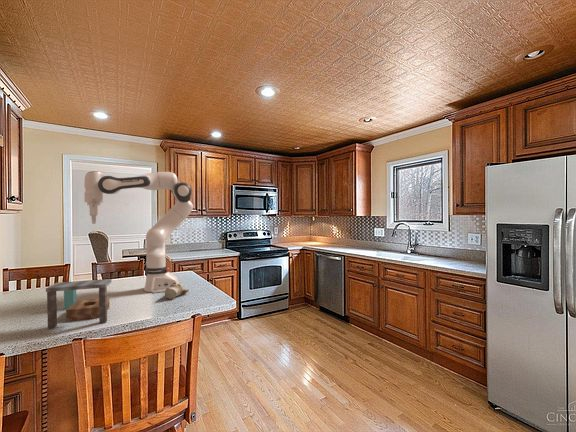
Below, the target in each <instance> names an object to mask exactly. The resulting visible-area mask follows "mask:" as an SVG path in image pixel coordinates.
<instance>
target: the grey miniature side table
mask: <svg viewBox="0 0 576 432" xmlns="http://www.w3.org/2000/svg"><path fill="white" fill-rule="evenodd" d="M111 283H112V278H108V279H107V278H106V279H92V280H90V279H89V280H77V281H62V282H55V283H53V284H51V285H50V286H48V287H46V288H45V292H46V301H47V302H46V307H47V308H46V309H47V310H46V311H47V312H46V314H47V329H48V328H54V329H56V328H57V327H58V305H57V303H58V301H57V292H64V291H66V290H76V291H77V290H90V289H98V298H95V299H92V298H91V299H84V300H83V299H81V300H76V302H75V303H74V304H73V305H72V306H70V307H69V308H68V309H66V310H65V321H66V322H69V321H80V320H89V319H98V322H99V324H106V323H107V321H108V310H109V309H110V306H111V305H110V298H109V297H108V294H107V293H108V292H107V290H108V289H107V288H108V286H109V285H110V284H111ZM56 326H57V327H56ZM55 327H56V328H55Z"/></svg>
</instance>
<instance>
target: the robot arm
mask: <svg viewBox="0 0 576 432" xmlns="http://www.w3.org/2000/svg"><path fill="white" fill-rule="evenodd" d="M83 187H84V189H85V191H84V203H86V204H87V206H88V207H89V216H90V217H91V224H93V225H94V224H96V222H97V216H98V214H99V208H100V207H99V206H101V203H104V200H103V198H104V194H107V195H115V194H118V193H119V192H121V190H126V189H138V188H139V189H145V190H149V191H158V190H162V191H163V190H170V191H171V193H172V196H173V197H174V198H175V199H176V202H175V204H174V205H173V206H172V207H171V208H170V209H169V210H168V211H167V212H166V213H165V214H164V215H163V216H162V217H160V218H159V220H158V221H157V222H156V223H155V224H154V225H153V226H152V227H150V228H149V229H148V231H147V232H146V235H145V242H146V252H145V253H146V254H145V255H146V257H145V258H146V267H145V278H146V279H145V285H144V289H143V292H147V293H152V294H157V293H163V292H164V293H165V290H166V289H167V288H168V287H170V286H171V284H173V283H174V282H176V284H180V285H181V286H182V287H183V283H180V282H179V279H178V277H177V276H176V275H175V274H173V273H172V272H171V271H170V267H169V266H167V265H166V263H167V262H166V256H167V255H166V240H167V239H168V238H169V237H170V236H171V235H172V234H173V233H174V231H175V230H176V229H177V228H178V227H179V226H180V225H181V224H182V223H183V222H184V221H185V220H186V219H187V218H188V216H189V215H190V214H191V212H192V211H193V209H194V204H193V203H192V202H191V201H190V200H191V197H192V193H193V192H192V187H191V185H190V184H189V183H187V182H183V181H181V182H180V181H179V180H178V176H177V175H176V173H174V172H171V171H155V172H150V173H145V174H142V175H137V176H131V177H130V176H129V177H115V176H113V175H106V174H104V173H102V172H101V171H98V170H97V171H95V170H94V171H88V172H86V173H85V175H84V185H83Z"/></svg>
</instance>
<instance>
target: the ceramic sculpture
mask: <svg viewBox="0 0 576 432" xmlns="http://www.w3.org/2000/svg"><path fill="white" fill-rule="evenodd" d="M188 292H189V289H184V288H183V285H182V286H181V285H180V284H176V282H174V283H173V284H171V286H170V287H168V288H167V289H166V290H165V292H164V297H165V298H166V299H167V300H168V299H169V300H174V299H176V298H177V297H178V296H181V295H185V294H187V293H188Z"/></svg>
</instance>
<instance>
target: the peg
mask: <svg viewBox="0 0 576 432" xmlns="http://www.w3.org/2000/svg"><path fill="white" fill-rule="evenodd" d="M75 302H77V290H66V291H63V310H64V309H66V310H67V309H68V308H69V307H70V306H72V305H73V304H74V303H75Z"/></svg>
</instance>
